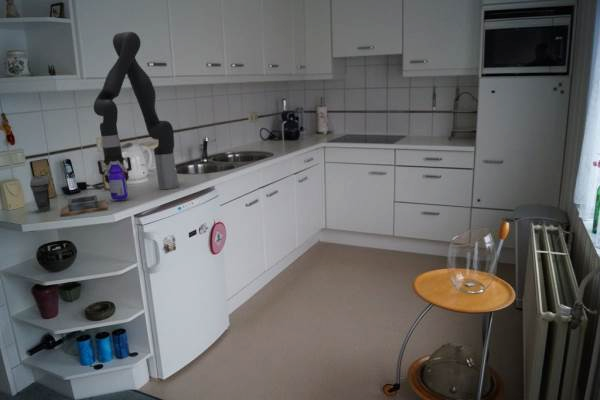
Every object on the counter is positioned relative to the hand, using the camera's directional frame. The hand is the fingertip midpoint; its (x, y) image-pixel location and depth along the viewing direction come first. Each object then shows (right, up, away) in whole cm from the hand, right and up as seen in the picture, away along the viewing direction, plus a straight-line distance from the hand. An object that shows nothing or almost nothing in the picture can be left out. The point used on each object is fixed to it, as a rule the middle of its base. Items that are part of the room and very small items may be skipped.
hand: (117, 181), depth 217 cm
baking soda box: (-11, -3, +27) cm, 29 cm away
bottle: (+1, -8, +2) cm, 8 cm away
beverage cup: (-29, -13, -8) cm, 32 cm away
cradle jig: (-10, -12, -10) cm, 19 cm away
